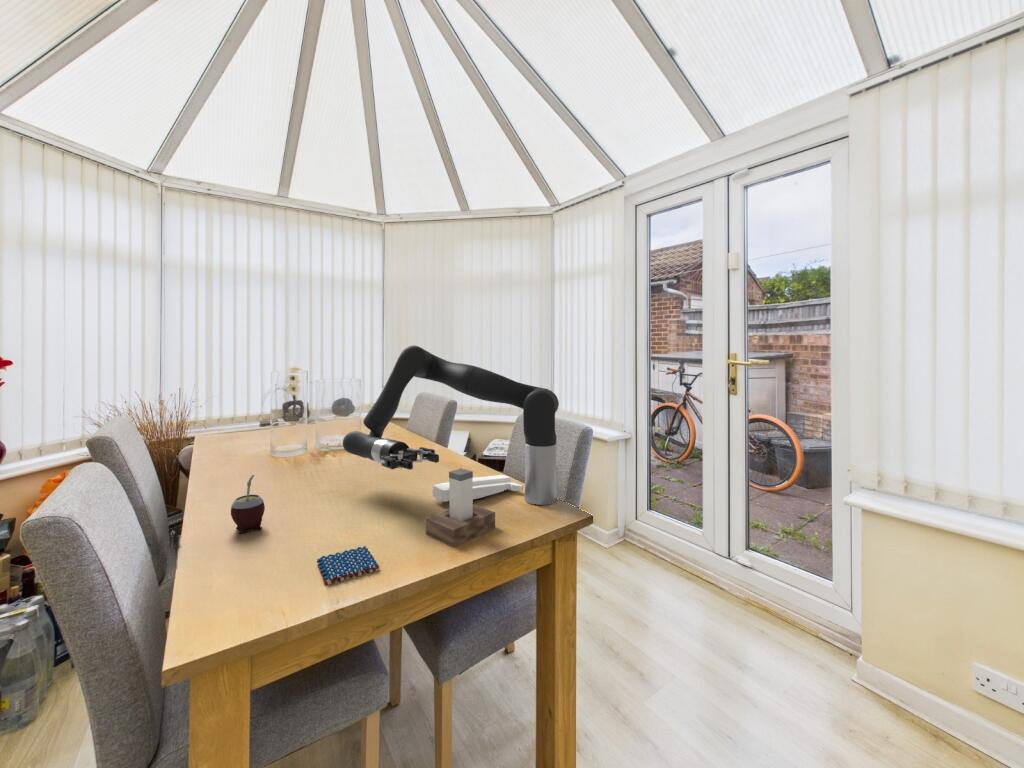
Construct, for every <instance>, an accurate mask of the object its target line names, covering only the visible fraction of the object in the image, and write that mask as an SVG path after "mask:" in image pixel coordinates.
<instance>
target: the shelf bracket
mask: <svg viewBox="0 0 1024 768" xmlns="http://www.w3.org/2000/svg"><path fill="white" fill-rule="evenodd" d="M506 489H508V490H510V491H515V492H516V491H517V492H523V491H524V485H522V484H519V483H516V482H514V481H511V477H510V476H508V475H504V474H499V475H498V474H497V475H489V476H488V475H487V476H477V477H473V500H476V499H481V498H484V497H488V496H491V495H495V494H498V493H501V492H505V491H507V490H506ZM504 490H505V491H504ZM432 497H433V498H435V499H436V500H438V501H440V502H443V503H445V502H450V500H449V481H447V482H442V483H436V484H433V485H432Z"/></svg>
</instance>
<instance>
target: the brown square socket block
mask: <svg viewBox="0 0 1024 768" xmlns="http://www.w3.org/2000/svg"><path fill="white" fill-rule="evenodd" d="M495 528H496V511H493V510H491V509H488V508H485V507H483V506H482V507H481V506H479V505H477V504H473V517H472V518H469V519H467V520H465V521H462V522H458V521H456V520H454V519H451V518H450V508H449V509H447V510H444V511H442V512H438V513H436V514H434V515H431V516H429V517H426V518H425V535H426V536H429V537H431V538H433V539H435V540H437V541H439V542H441V543H443V544H446V545H448V546H450V547H452V548H455V547H457V546H459V545H461V544H463V543H465V542H467V541H470V540H471V539H474V538H476V537H478V536H480V535H482V534H485V533H487V532H488V531H491V530H492V529H493V530H494V529H495Z"/></svg>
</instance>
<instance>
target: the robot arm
mask: <svg viewBox="0 0 1024 768" xmlns="http://www.w3.org/2000/svg"><path fill="white" fill-rule="evenodd" d="M413 378H419V379H424V380H427V381H428V380H429V381H433V382H437V383H440V384H444V385H446V386H448V387H450V388H452V389H454V391H457V392H460V393H462V394H464V395H466V396H470V397H472V398H475V399H478V400H481V401H486V402H492V403H497V404H498V403H500V404H506V405H510V406H514V407H517V408H519V409H522V412H523V413H522V414H523V415H522V416H523V419H522V421H523V422H522V425H523V434H524V439H525V440H524V444H525V447H524V501H525V502H527V503H529V504H531V505H535V504H536V505H537V506H538V505H539V506H548V505H552V504H554V503H555V502H556V500H557V498H558V466H557V434H556V433H557V432H556V413H557V412H558V409H559V406H560V403H559V401H560V400H559V398H558V397H557V395H556V394H555V393H554V392H553V391H552V390H550V389H549V388H543V387H539V386H534V385H530V384H526V383H522V382H518V381H515V380H513V379H511V378H508V377H507V376H504V375H501V374H498V373H496V372H495V371H494V372H493V371H491V370H488V369H485V368H482V367H479V366H476V365H471V364H468V363H467V364H466V363H460V362H452V361H448V360H446V359H444V358H441V357H439V356H437V355H434V354H433V353H431V352H429V351H427V350H426V349H424V348H423V347H420V346H418V345H409V346H406V347H405V348H404V349H403V350H402V351H401V352H400V354H399V356H398V357H397V359H396V362H395V364H394V366H393V369H392V371H391V374H390V375H389V377H388V379H387V381H386V383H385V385H384V387H383V388H382V390H381V392H380V394H379V396H378V398H377V399H376V401H375V402H374V403H373V405H372V407H370V408H371V409H369V411H368V413H367V414H366V415H365V417H364V419H363V425H364V427H366V428H367V429H368V430H370V432H369V434H367V433H365V432H361V431H358V430H353V431H352V430H351V431H350V432H348V433H347V434H345V436H344V437H343V440H342V448H343V449H344V451H345V452H347V453H348V454H351V455H355V456H356V457H357V456H358V457H361V458H364V459H369V460H371V461H374V462H377V463H379V464H381V467H385V468H387V469H390V470H395V469H403V468H404V469H406V470H409V471H411V470H413V469H414V463H422V462H423V461H428V462H432V463H436V464H437V463H439V462H440V456H439V454H438V453H435V452H436V450H435V449H432V448H429V447H423V446H421V447H419V448H417V449H415V448H411V447H409V445H408V444H407V443H405V442H404V441H401V440H395V439H391V438H384V437H383V434H384V432H385V429H386V428H387V426H388V425H389V423H390V422H391V420H392V419H393V417H394V416H395V415H396V412H397V410H398V408H399V404H400V401H401V398H402V395H403V393H404V391H405V389H406V387H407V386H408V384H409V383H410V381H411V380H412V379H413ZM418 456H419V458H418Z"/></svg>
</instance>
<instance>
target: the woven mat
mask: <svg viewBox="0 0 1024 768" xmlns="http://www.w3.org/2000/svg"><path fill="white" fill-rule="evenodd" d="M316 563H317V567H318V568H319V570H320V571H319V573H320V574H321V577H322V579H323V581H324V582H323V584H325V585H327V586H330V585H332V583H335V584H336V583H338V580H339V581H340V582H344V580H345V579H346V580H350V577H351V578H352V579H356V578H357V576H358V577H361V576H362V575H367V572H368V573H370V574H372V573H373V572H374V571H375V572H377V571H379V568H380V565H379V563H378V562H377V560H376V559H375V557H374V555H372V553H371V551H370V550H369V548H368V547H367V546H366V545H364V546H358V547H357V548H350V549H347V550H346V549H345V550H344V551H340V552H339V551H338V552H336V553H333V554H332V553H330V554H328V555H322V556H321V557H319V558H317V559H316Z"/></svg>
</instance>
